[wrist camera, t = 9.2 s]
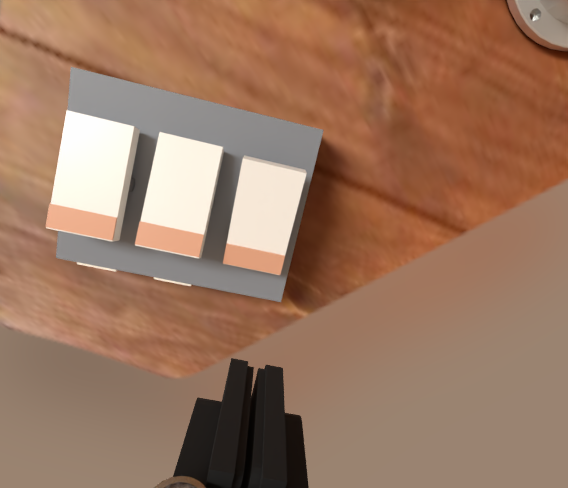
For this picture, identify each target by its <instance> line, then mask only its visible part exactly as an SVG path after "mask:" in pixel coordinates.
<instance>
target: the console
mask: <svg viewBox="0 0 568 488" xmlns="http://www.w3.org/2000/svg"><path fill="white" fill-rule="evenodd" d="M68 111H72V112H76V113H80V114H85V115H89V116H93V117H97V118H101V119H106V120H110V121H114V122H118V123H122V124H127V125H131V126H134V127H136V128H137V129H139V130H140V133H139V138H138V143H137V149H136V154H135V160H134V165H133V170H132V176H131V181H130V186H129V192H128V197H127V202H126V208H125V213H124V218H123V224H122V229H121V235H120V240H118V241H114V242H112V241H107V240H102V239H97V238H92V237H87V236H82V235H78V234H73V233H68V232H63V231H58V240H57V253H56V258H59V259H64V260H69V261H74V262H77V264H80V265H85V266H90V267H95V268H100V269H105V270H110V271H115V272H116V271H117V270H120V271H125V272H130V273H135V274H140V275H146V276H151V277H154V279H156V280H161V281H166V282H171V283H176V284H182V285H187V286H191V285H196V286H201V287H207V288H212V289H217V290H222V291H227V292H232V293H237V294H242V295H247V296H252V297H257V298H263V299H268V300H273V301H278V302H281V299H282V295H283V291H284V287H285V283H286V279H287V275H288V271H289V267H290V263H291V259H292V255H293V251H294V247H295V243H296V239H297V235H298V231H299V227H300V223H301V219H302V215H303V211H304V207H305V203H306V199H307V195H308V191H309V187H310V182H311V178H312V174H313V170H314V166H315V162H316V158H317V154H318V150H319V146H320V142H321V138H322V134H323V130H321V129H317V128H313V127H309V126H305V125H301V124H297V123H293V122H289V121H285V120H281V119H277V118H273V117H269V116H265V115H261V114H257V113H253V112H249V111H245V110H241V109H237V108H233V107H229V106H225V105H221V104H217V103H213V102H209V101H205V100H201V99H197V98H193V97H189V96H185V95H181V94H177V93H173V92H169V91H165V90H161V89H157V88H153V87H149V86H145V85H141V84H137V83H133V82H129V81H125V80H121V79H117V78H113V77H109V76H105V75H101V74H97V73H93V72H89V71H85V70H81V69H77V68H73V67H71V73H70V86H69V99H68ZM159 132H162V133H167V134H171V135H175V136H179V137H183V138H188V139H192V140H196V141H200V142H204V143H209V144H213V145H217V146H221V147H223V149H224V154H223V158H222V163H221V168H220V172H219V177H218V182H217V186H216V191H215V196H214V200H213V205H212V210H211V214H210V219H209V224H208V228H207V233H206V238H205V242H204V247H203V252H202V256H201V258H194V257H189V256H184V255H179V254H174V253H169V252H165V251H160V250H155V249H150V248H145V247H140V246H135V241H136V236H137V231H138V227H139V222H140V220H141V216H142V211H143V207H144V202H145V197H146V193H147V188H148V183H149V179H150V174H151V169H152V165H153V160H154V155H155V151H156V146H157V141H158V137H159ZM244 155H245V156H249V157H253V158H258V159H262V160H266V161H270V162H274V163H279V164H283V165H287V166H291V167H296V168H300V169H304V170H306V173H307V174H306V178H305V181H304V185H303V189H302V193H301V197H300V201H299V204H298V208H297V212H296V216H295V220H294V223H293V227H292V231H291V235H290V239H289V242H288V246H287V250H286V254H285V259H284V263H283V266H282V270H281V274H280V275H276V274H271V273H266V272H261V271H256V270H252V269H247V268H242V267H237V266H232V265H227V264H223V259H224V254H225V249H226V244H227V239H228V233H229V228H230V223H231V218H232V212H233V207H234V202H235V196H236V191H237V186H238V180H239V175H240V170H241V165H242V159H243V157H244Z"/></svg>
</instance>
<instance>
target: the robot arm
mask: <svg viewBox="0 0 568 488" xmlns="http://www.w3.org/2000/svg"><path fill="white" fill-rule="evenodd" d="M507 3H508V6H509V9H510V12H511V14H512V15H513V17H514V19H515V21H516V23H517V25H518V26H519V27H520V28H521V29H522V30H523V32H524V33H525V34H526V35H527V36H528V37H530V38H531V39H532V40H534V41H535V42H536V43H538V44H540V45H542V46H545V47H547V48H549V49H554V50H560V51H568V0H507ZM253 369H254V368H253V367H249V366H248V361H243V360H238V359H233V358H231V363H230V367H229V372H228V376H227V381H226V385H225V390H224V394H223V400H222V402H220V401H214V400H209V399H203V398H197V400H196V403H195V407H194V410H193V413H192V416H191V420H190V423H189V426H188V429H187V433H186V436H185V439H184V443H183V447H182V449H181V452H180V456H179V459H178V462H177V466H176V469H175V472H174V475H173V477H171V478H169V479H166V480H164V481H162V482H161V483H159V484H158V485H157V486H156V487H154V488H308V478H307V469H306V458H305V448H304V438H303V428H302V420H301V416H299V415H294V414H288V413H285V410H284V386H283V385H284V384H283V368H281V367H275V366H270V365H266V366H265V369H260V368H259V369H258V372H257V376H256V380H255V384H254V388H253V393H252V396H251V391H252V381H253Z"/></svg>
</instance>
